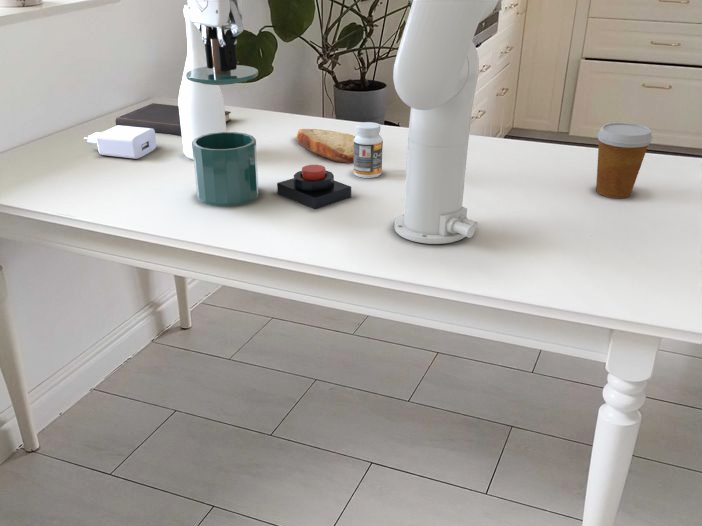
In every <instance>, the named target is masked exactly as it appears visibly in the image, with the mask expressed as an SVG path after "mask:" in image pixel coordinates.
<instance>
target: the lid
mask: <svg viewBox="0 0 702 526" xmlns="http://www.w3.org/2000/svg"><path fill="white" fill-rule="evenodd" d="M210 42H211V52H212V63H213V68H211V69H210V68H207V67H202V68H197V69H193V70H191V71H189V72H187V73H186V78H187V79H188V80H190V81H193V82H198V83H202V84H208V85H219V86H226V85H234V84H240V83H243V82H247V81H249V80H253V79H255V78H256V77H258V76H259V70H258V69H257V68H256V67H253V66H248V65H242V64H241V65H240V64H236V65H237V68H236V69H235V70H230V71H224V72H222V71H220V69H219V59H218V48H217V47H218V46H220V44H219V37H212V38H210Z"/></svg>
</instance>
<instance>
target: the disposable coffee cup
mask: <svg viewBox="0 0 702 526" xmlns="http://www.w3.org/2000/svg"><path fill="white" fill-rule="evenodd" d="M596 137H597V140H598V151H597V166H596V168H597V169H596V182H595V183H596V186H595V192H596V193H597V194H598V195H601V196H603V197H606V198H612V199H623V198H628V197H630V196H631V195H632V192H633V189H634V186H635V184H636V181H637V178H638V175H639V173H640V170H641V166H642V164H643V161H644V158H645V156H646V153H647V150H648V147H649V145H650V144H651V142H652V141H653V139H654V138H653V136H652V129H651V128H650V127H648V126H645V125H642V124H638V123H631V122H608V123H604V124H602V125H601V126H600V129H599V131H598V132H597V134H596Z"/></svg>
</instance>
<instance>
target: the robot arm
mask: <svg viewBox="0 0 702 526" xmlns="http://www.w3.org/2000/svg"><path fill="white" fill-rule="evenodd" d="M498 3H499V0H412V3H411V5H410V9H409V13H408V17H407V19H406V23H405V26H404V28H403V33H402V36H401V38H400V42H399V45H398V49H397V52H396V56H395V60H394V64H393V72H392V77H393V86H394V89H395V92H396V93H397V95H398V97H399V98H400V101H402V102H403V103H404V104H405V105H406V106H408V107H410V113H409V122H408V137H407V153H406V172H405V173H406V174H405V175H406V176H405V191H404V192H405V193H404V194H405V195H404V211H403V214H401V215H399V216H398V217H397V218H396V219H395V221H394V231H395V233H396V234H397V235H399V236H400V237H401V238H403V239H405V240H408V241H412V242H415V243H419V244H420V243H421V244H427V245H442V244H443V245H444V244H451V243H455V242H458V241H460V240H463V239H465V238H469V239H471V238H472V237H474V235H475V232H476V229H477V228H478V225H479V223H478V221H476V220H473V219H469V218H468V208H467V207H465V206H463V202H464V191H465V182H466V170H467V159H468V149H469V139H470V131H471V130H470V129H471V121H472V111H473V106H474V99H475V94H476V89H477V83H478V78H479V72H480V71H479V69H480V59H479V54H478V50H477V47H476V45H475V43H474V41H473V40H474V37H475V34H476V32H477V29H478V27H479V24H480V23H481V22H483V21H484V20H486V19H487V18H488V17H489V16H490V15H491V14H492V13H493V11H494V10H495V8H496V7H497V4H498ZM187 5H188V12H189V18H190V20H191V21H192V22H193V23H194V24H195V25H196V26H197V27H198V28H199V30H200V32H201V34H202V40H203V42H204V45H205V52H206V62H207V68H210V69H211V68H213V63H212V52H211V42H210V38H212V37H219V44H220V46H218V47H217V48H218V59H219V69H220V71H222V72H224V71H230V70H235V69H236V68H237V65H238V64H237V55H236V53H237V52H236V45H237V43H238V40H237V39H238V37H239V35H241V34H242V33H243V31H244V30H245V27H244V24H243V19H244V6H243V0H187ZM225 30H226V31H225Z"/></svg>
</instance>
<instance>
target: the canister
mask: <svg viewBox="0 0 702 526" xmlns="http://www.w3.org/2000/svg"><path fill="white" fill-rule="evenodd" d="M192 149H193V159H194V160H193V168H194V176H195V177H194V178H195V187H196V196H197V200H198V201H199V202H200V203H202V204H204V205H206V206H213V207H219V208H221V207H222V208H224V207H225V208H227V207H237V206H242V205H246V204H250V203H251V202H254V201H255V200H256V199H258V197H259V191H260V190H259V173H258V154H257V153H258V152H257V139H256V138H255V137H254V136H253V135H251V134H248V133H244V132H237V131H226V132H219V133H210V134H206V135H202V136H199V137H197V138H195V139H194V140H193V142H192Z"/></svg>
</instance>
